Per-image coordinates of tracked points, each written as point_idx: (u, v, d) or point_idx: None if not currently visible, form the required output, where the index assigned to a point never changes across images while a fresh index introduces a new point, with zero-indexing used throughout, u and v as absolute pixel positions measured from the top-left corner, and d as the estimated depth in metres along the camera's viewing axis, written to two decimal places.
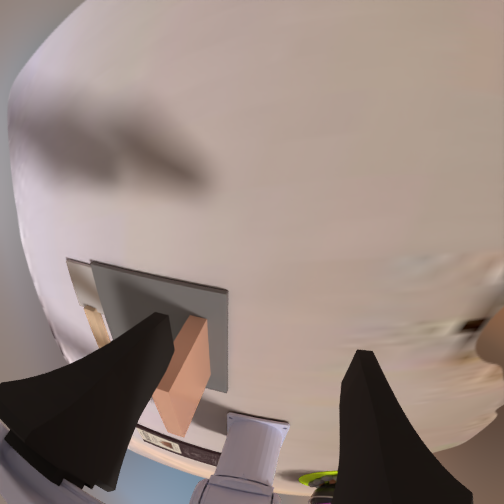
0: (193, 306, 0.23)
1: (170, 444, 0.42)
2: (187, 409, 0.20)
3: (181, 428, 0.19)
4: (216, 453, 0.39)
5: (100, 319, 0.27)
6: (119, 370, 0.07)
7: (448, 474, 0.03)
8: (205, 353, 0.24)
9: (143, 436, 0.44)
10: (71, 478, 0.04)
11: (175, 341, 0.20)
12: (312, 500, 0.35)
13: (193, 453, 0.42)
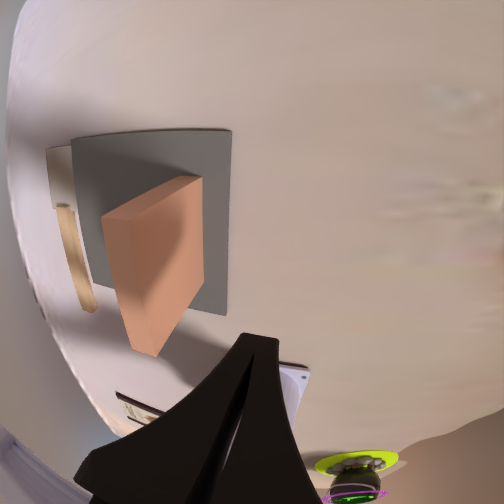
0: (186, 159, 0.17)
1: None
2: (163, 303, 0.14)
3: (150, 332, 0.13)
4: None
5: (73, 222, 0.22)
6: (230, 406, 0.07)
7: (306, 484, 0.04)
8: (197, 232, 0.18)
9: (127, 411, 0.38)
10: None
11: (156, 187, 0.14)
12: (332, 490, 0.29)
13: None
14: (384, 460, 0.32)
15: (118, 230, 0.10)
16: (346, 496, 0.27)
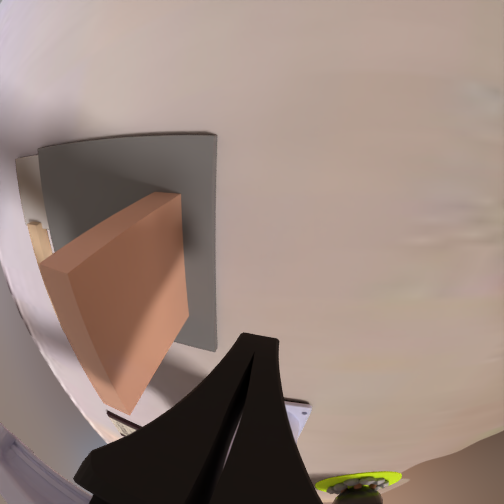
0: (160, 172, 0.13)
1: None
2: (133, 357, 0.11)
3: (119, 393, 0.10)
4: None
5: (45, 240, 0.18)
6: (230, 406, 0.07)
7: (306, 484, 0.04)
8: (176, 262, 0.14)
9: (119, 429, 0.35)
10: None
11: (118, 213, 0.11)
12: None
13: None
14: (387, 479, 0.28)
15: (59, 283, 0.07)
16: None
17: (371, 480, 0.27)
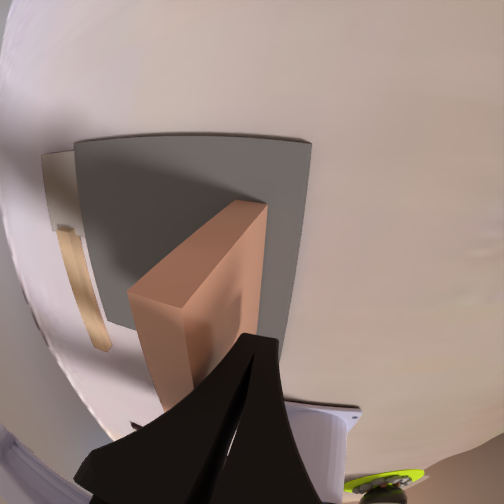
0: (245, 178, 0.13)
1: None
2: None
3: None
4: None
5: (79, 249, 0.17)
6: (230, 406, 0.07)
7: (306, 484, 0.04)
8: (257, 278, 0.14)
9: None
10: None
11: (208, 224, 0.10)
12: None
13: None
14: (410, 477, 0.28)
15: (160, 317, 0.06)
16: None
17: (397, 478, 0.26)
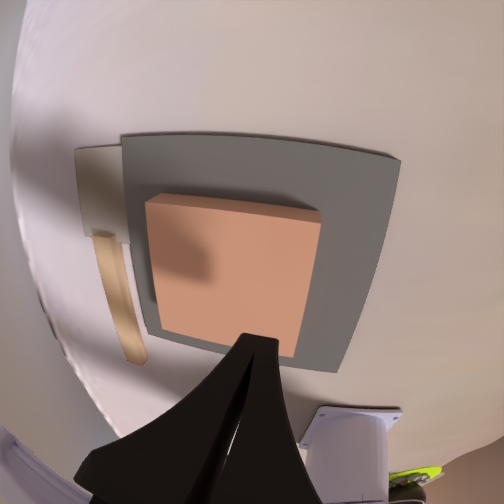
0: (334, 189, 0.12)
1: None
2: (185, 303, 0.14)
3: (159, 305, 0.15)
4: None
5: (119, 257, 0.17)
6: (230, 406, 0.07)
7: (306, 484, 0.04)
8: (288, 291, 0.13)
9: None
10: None
11: (248, 202, 0.13)
12: None
13: None
14: (428, 474, 0.27)
15: None
16: None
17: (418, 476, 0.26)
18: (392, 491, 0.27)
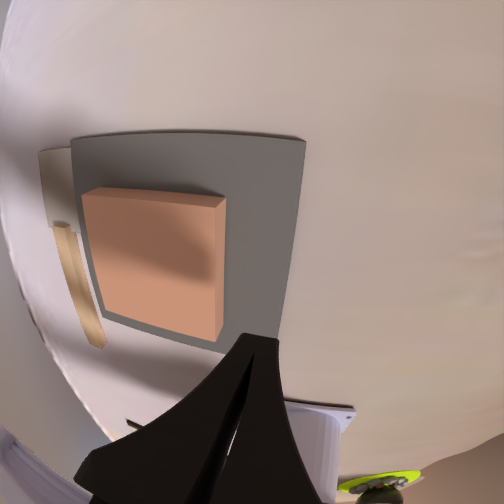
0: (239, 176, 0.12)
1: None
2: (118, 285, 0.15)
3: (100, 287, 0.16)
4: None
5: (74, 245, 0.17)
6: (230, 406, 0.07)
7: (306, 484, 0.04)
8: (196, 274, 0.13)
9: None
10: None
11: (163, 191, 0.13)
12: None
13: None
14: (406, 478, 0.28)
15: None
16: None
17: (394, 479, 0.27)
18: (367, 493, 0.27)
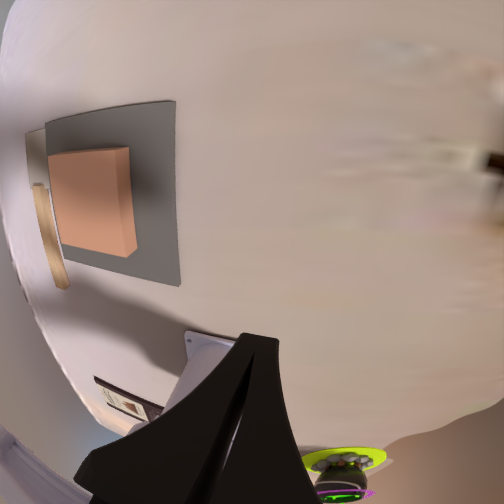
0: (135, 131, 0.16)
1: (134, 405, 0.36)
2: (68, 219, 0.19)
3: (58, 224, 0.20)
4: None
5: (46, 199, 0.21)
6: (230, 406, 0.07)
7: (306, 485, 0.04)
8: (109, 199, 0.17)
9: (105, 397, 0.38)
10: None
11: None
12: (316, 487, 0.29)
13: None
14: (371, 458, 0.32)
15: None
16: (330, 494, 0.26)
17: (353, 456, 0.30)
18: (327, 470, 0.31)
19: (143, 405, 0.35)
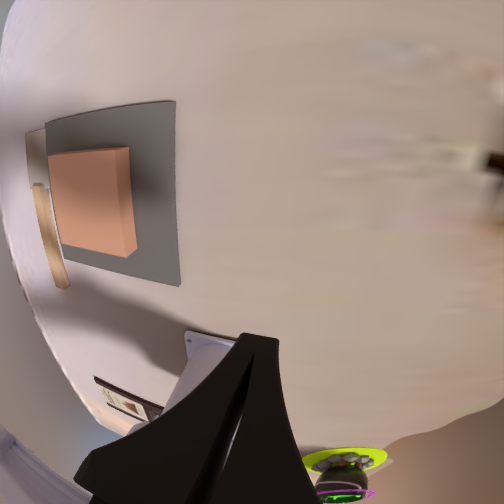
0: (135, 131, 0.16)
1: (134, 405, 0.36)
2: (68, 219, 0.19)
3: (58, 224, 0.20)
4: None
5: (46, 199, 0.21)
6: (230, 406, 0.07)
7: (306, 485, 0.04)
8: (109, 199, 0.17)
9: (105, 397, 0.38)
10: None
11: None
12: (317, 487, 0.29)
13: None
14: (372, 458, 0.32)
15: None
16: (330, 494, 0.26)
17: (354, 456, 0.30)
18: (328, 470, 0.31)
19: (143, 405, 0.35)
